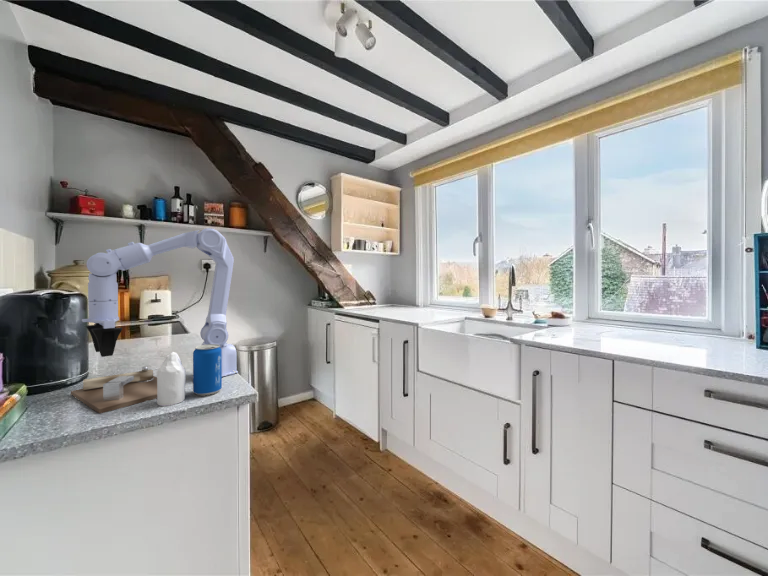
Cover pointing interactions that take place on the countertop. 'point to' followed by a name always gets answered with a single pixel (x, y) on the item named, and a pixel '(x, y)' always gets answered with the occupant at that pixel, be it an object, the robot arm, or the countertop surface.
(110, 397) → the keeper
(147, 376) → the link
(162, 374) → the white bottle
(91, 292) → the robot arm
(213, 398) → the countertop surface
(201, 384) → the beverage can
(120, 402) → the wooden cutting board
